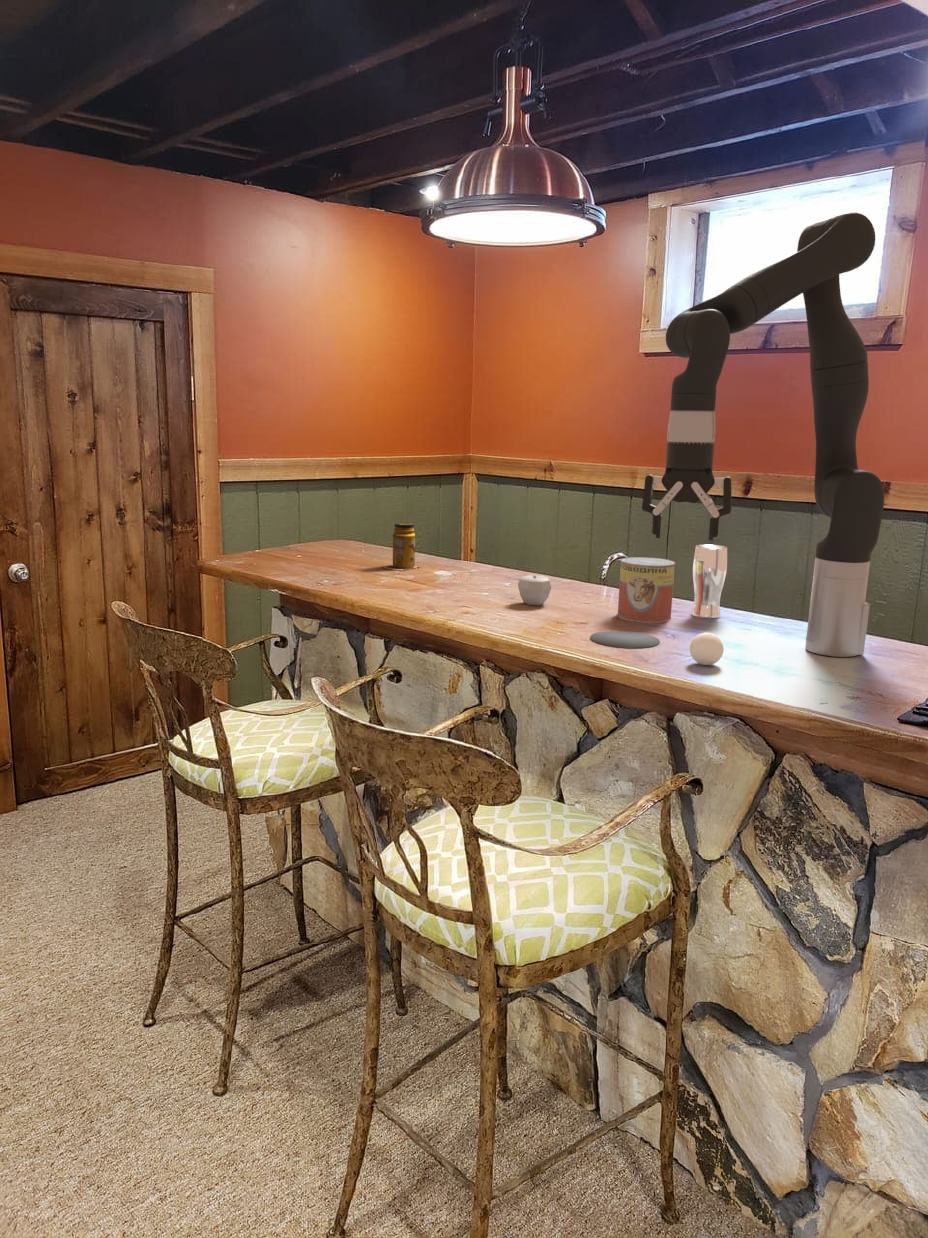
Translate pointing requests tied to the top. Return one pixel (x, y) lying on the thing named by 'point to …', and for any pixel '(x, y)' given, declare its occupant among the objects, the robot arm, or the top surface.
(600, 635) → the disc
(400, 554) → the condiment
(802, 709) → the top surface
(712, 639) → the ball
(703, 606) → the beer glass
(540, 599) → the apple
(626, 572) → the canned food
